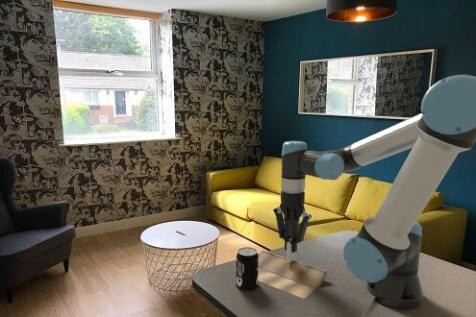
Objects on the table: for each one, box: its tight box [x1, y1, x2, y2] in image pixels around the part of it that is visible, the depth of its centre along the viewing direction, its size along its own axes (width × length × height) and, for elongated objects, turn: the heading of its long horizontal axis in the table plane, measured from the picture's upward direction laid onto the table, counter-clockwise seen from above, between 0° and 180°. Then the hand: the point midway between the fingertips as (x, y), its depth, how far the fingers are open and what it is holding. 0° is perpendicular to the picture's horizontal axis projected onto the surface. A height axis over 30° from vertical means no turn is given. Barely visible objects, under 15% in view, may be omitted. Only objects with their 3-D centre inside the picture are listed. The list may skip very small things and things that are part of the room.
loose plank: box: [258, 249, 328, 290], centre depth 116 cm, size 24×7×1 cm, turn 51°
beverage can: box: [235, 246, 259, 292], centre depth 107 cm, size 7×7×12 cm
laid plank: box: [258, 268, 317, 300], centre depth 111 cm, size 24×7×1 cm, turn 51°
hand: (290, 260), depth 117 cm, fingers closed
